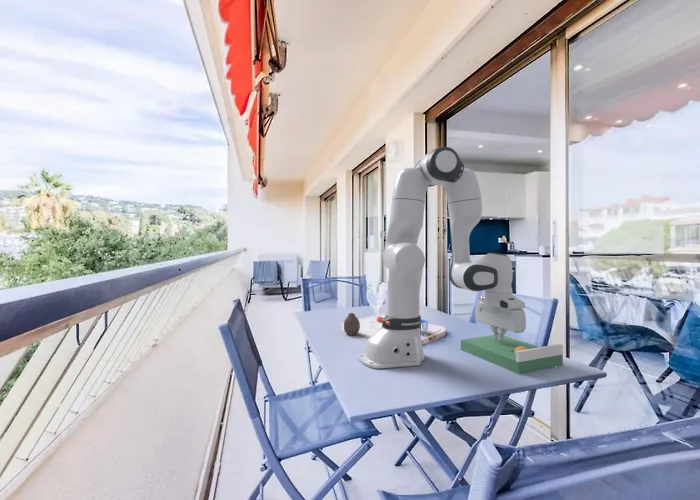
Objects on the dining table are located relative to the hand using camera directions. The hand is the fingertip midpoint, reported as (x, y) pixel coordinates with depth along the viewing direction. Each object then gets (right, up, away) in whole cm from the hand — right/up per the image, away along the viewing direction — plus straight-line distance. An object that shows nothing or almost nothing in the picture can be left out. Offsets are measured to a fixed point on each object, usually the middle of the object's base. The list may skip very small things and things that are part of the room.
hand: (498, 339), depth 123 cm
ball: (+4, -2, -10) cm, 10 cm away
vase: (-51, -5, +29) cm, 58 cm away
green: (+2, -5, -4) cm, 6 cm away
